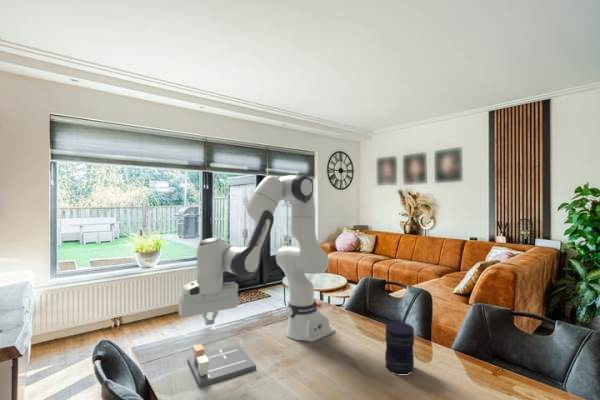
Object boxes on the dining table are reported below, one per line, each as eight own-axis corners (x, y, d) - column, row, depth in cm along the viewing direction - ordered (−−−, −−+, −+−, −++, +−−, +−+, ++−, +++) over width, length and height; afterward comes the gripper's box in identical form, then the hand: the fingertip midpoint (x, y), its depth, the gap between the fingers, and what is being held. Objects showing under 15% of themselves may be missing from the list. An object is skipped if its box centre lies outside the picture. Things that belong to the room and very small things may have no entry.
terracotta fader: (201, 355, 118) (201, 343, 118) (204, 361, 114) (204, 348, 114) (193, 358, 117) (193, 345, 117) (195, 363, 113) (195, 351, 113)
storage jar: (399, 378, 107) (399, 335, 107) (379, 364, 116) (379, 324, 116) (419, 371, 112) (420, 329, 111) (399, 358, 121) (399, 319, 120)
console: (238, 347, 128) (238, 343, 128) (255, 369, 113) (255, 364, 113) (187, 361, 118) (187, 357, 118) (199, 387, 103) (199, 382, 103)
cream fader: (205, 367, 110) (205, 355, 110) (209, 374, 106) (209, 360, 106) (197, 370, 109) (196, 357, 109) (200, 376, 105) (200, 363, 105)
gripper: (235, 278, 118) (234, 315, 118) (177, 286, 107) (177, 327, 107) (241, 282, 112) (241, 321, 113) (181, 291, 101) (181, 334, 102)
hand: (209, 324), depth 110 cm, fingers closed
